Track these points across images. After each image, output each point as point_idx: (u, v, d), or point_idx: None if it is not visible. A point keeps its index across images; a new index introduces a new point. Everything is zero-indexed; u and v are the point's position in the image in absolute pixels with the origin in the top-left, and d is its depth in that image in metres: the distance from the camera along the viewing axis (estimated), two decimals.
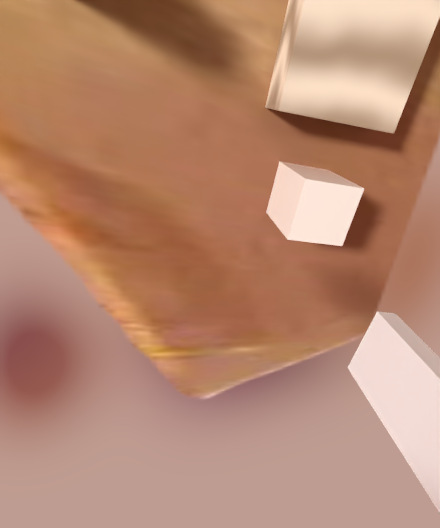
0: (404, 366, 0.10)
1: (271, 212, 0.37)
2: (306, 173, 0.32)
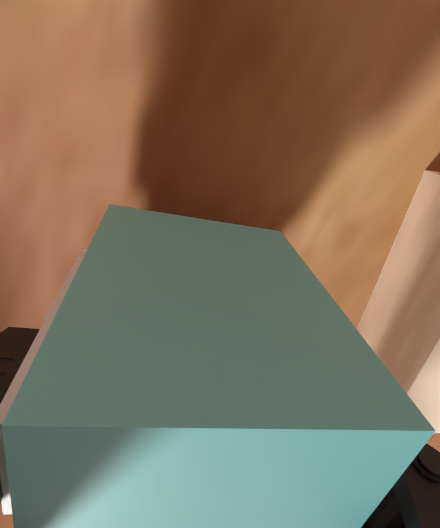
0: None
1: None
2: None
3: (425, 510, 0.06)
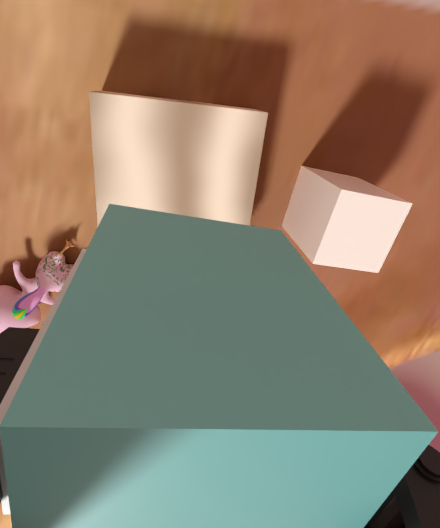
0: None
1: None
2: (304, 233, 0.28)
3: (425, 510, 0.06)
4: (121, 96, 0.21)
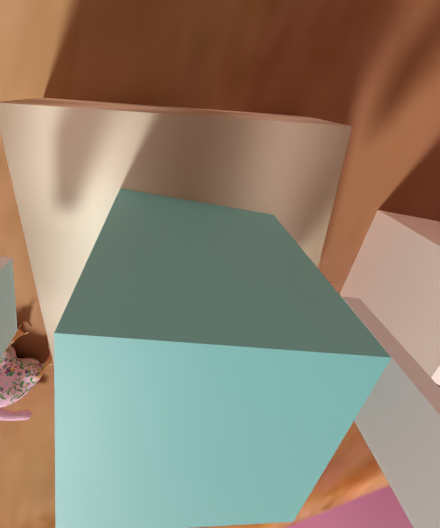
0: None
1: None
2: (392, 329, 0.17)
3: None
4: (63, 109, 0.11)
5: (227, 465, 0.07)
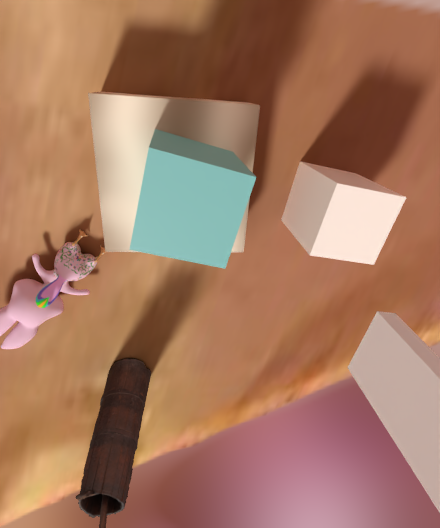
0: (404, 366, 0.10)
1: None
2: (302, 226, 0.29)
3: None
4: (119, 96, 0.23)
5: (197, 222, 0.19)
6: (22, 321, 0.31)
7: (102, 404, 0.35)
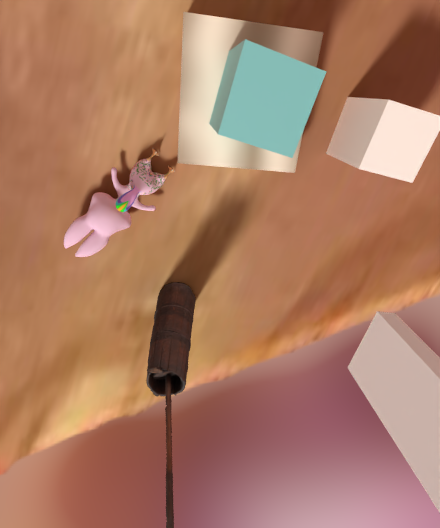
0: (404, 366, 0.10)
1: None
2: (350, 149, 0.33)
3: None
4: (208, 16, 0.27)
5: (275, 112, 0.23)
6: (99, 227, 0.35)
7: (157, 314, 0.39)
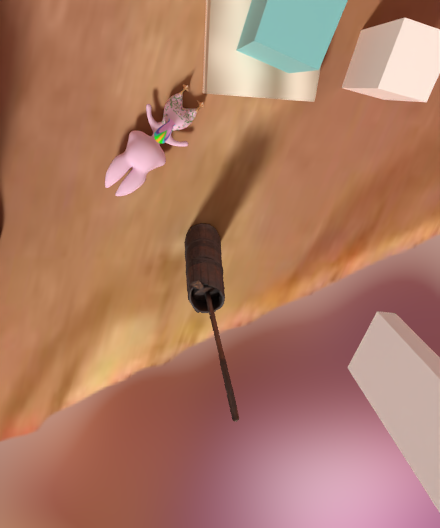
0: (404, 366, 0.10)
1: (387, 98, 0.40)
2: (367, 75, 0.35)
3: None
4: None
5: (306, 22, 0.26)
6: (138, 162, 0.38)
7: (189, 248, 0.42)
